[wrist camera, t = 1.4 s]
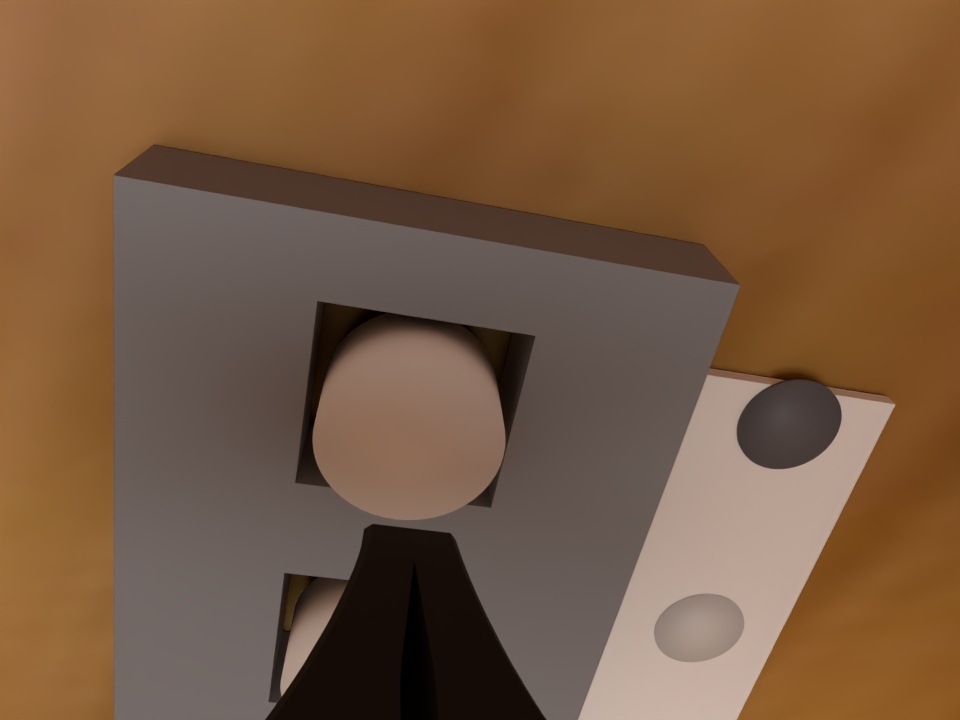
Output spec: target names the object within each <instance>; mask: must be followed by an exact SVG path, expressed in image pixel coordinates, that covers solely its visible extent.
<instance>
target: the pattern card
mask: <svg viewBox="0 0 960 720" xmlns="http://www.w3.org/2000/svg"><path fill="white" fill-rule="evenodd" d="M894 406H895V403H894V402H893V401H892V400H891V399H890V398H889V397H888V396H882V395H876V394H870V393H863V392H857V391H851V390H844V389H838V388H832V387H826V386H825V385H823V384H821V383H819V382H816V381H813V380H809V379H790V380H781V379H775V378H769V377H762V376H756V375H750V374H743V373H737V372H731V371H724V370H718V369H712V368H709V371H708V374H707V376H706V379H705V382H704V384H703V387H702V390H701V392H700V395H699V398H698V400H697V403H696V406H695V408H694V411H693V414H692V416H691V419H690V422H689V424H688V427H687V430H686V432H685V435H684V438H683V440H682V443H681V446H680V448H679V451H678V454H677V456H676V459H675V462H674V464H673V467H672V470H671V472H670V475H669V478H668V480H667V483H666V486H665V488H664V491H663V494H662V496H661V499H660V502H659V504H658V507H657V510H656V512H655V515H654V518H653V520H652V523H651V526H650V528H649V531H648V534H647V536H646V539H645V542H644V544H643V547H642V550H641V552H640V555H639V558H638V560H637V563H636V566H635V568H634V571H633V574H632V576H631V579H630V582H629V584H628V587H627V590H626V592H625V595H624V598H623V600H622V603H621V606H620V608H619V611H618V614H617V616H616V619H615V622H614V624H613V627H612V630H611V632H610V635H609V638H608V640H607V643H606V646H605V648H604V651H603V654H602V656H601V659H600V661H599V664H598V667H597V669H596V672H595V675H594V677H593V680H592V683H591V685H590V688H589V691H588V693H587V696H586V699H585V701H584V704H583V707H582V709H581V712H580V715H579V717H578V720H737V718H738V716H739V714H740V712H741V710H742V708H743V706H744V704H745V702H746V700H747V698H748V696H749V694H750V692H751V690H752V688H753V686H754V684H755V682H756V680H757V678H758V676H759V674H760V672H761V670H762V668H763V666H764V664H765V662H766V660H767V658H768V656H769V654H770V652H771V650H772V648H773V646H774V644H775V642H776V640H777V638H778V636H779V634H780V632H781V630H782V628H783V626H784V624H785V623H786V621H787V619H788V617H789V615H790V613H791V611H792V609H793V607H794V605H795V603H796V601H797V599H798V597H799V595H800V593H801V591H802V589H803V587H804V585H805V583H806V581H807V579H808V577H809V575H810V573H811V571H812V569H813V567H814V565H815V563H816V561H817V559H818V557H819V555H820V553H821V551H822V549H823V547H824V545H825V543H826V541H827V539H828V537H829V535H830V533H831V531H832V529H833V527H834V525H835V523H836V521H837V519H838V517H839V515H840V513H841V511H842V509H843V508H844V506H845V504H846V502H847V500H848V498H849V496H850V494H851V492H852V490H853V488H854V486H855V484H856V482H857V480H858V478H859V476H860V474H861V472H862V470H863V468H864V466H865V464H866V462H867V460H868V458H869V456H870V454H871V452H872V450H873V448H874V446H875V444H876V442H877V440H878V438H879V436H880V434H881V432H882V430H883V428H884V426H885V424H886V422H887V420H888V418H889V416H890V414H891V412H892V410H893V408H894Z"/></svg>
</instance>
